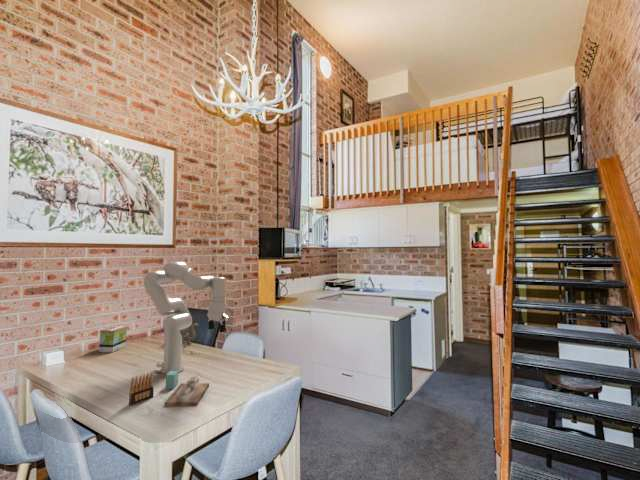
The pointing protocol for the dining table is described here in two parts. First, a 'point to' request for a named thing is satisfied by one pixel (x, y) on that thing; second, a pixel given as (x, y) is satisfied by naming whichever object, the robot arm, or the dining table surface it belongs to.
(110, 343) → the tea box
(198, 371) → the dining table surface
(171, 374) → the teal module
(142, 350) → the dining table surface
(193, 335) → the tankard
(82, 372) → the dining table surface
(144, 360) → the dining table surface
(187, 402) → the rail board
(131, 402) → the ammunition clip
